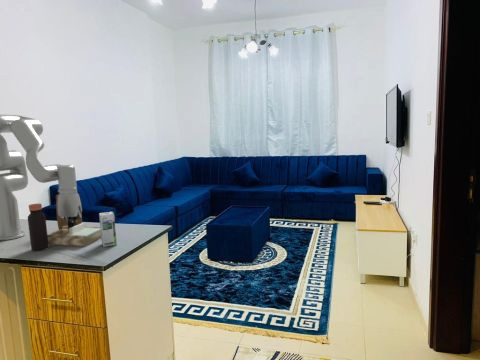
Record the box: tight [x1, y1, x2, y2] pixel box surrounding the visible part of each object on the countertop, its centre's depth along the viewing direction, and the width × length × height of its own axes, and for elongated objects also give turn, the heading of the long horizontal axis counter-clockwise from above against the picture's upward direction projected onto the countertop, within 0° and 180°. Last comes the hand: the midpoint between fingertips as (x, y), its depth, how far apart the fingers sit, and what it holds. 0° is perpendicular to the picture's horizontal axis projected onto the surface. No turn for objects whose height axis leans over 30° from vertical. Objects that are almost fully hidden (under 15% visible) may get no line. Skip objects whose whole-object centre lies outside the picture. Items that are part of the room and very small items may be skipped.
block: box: [55, 193, 83, 230], centre depth 191 cm, size 11×8×20 cm
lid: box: [66, 222, 101, 237], centre depth 173 cm, size 11×12×3 cm
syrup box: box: [98, 211, 118, 248], centre depth 166 cm, size 6×6×14 cm
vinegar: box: [27, 203, 50, 252], centre depth 163 cm, size 7×7×20 cm
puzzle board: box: [47, 226, 101, 247], centre depth 175 cm, size 22×15×5 cm
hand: (72, 230), depth 174 cm, fingers closed
